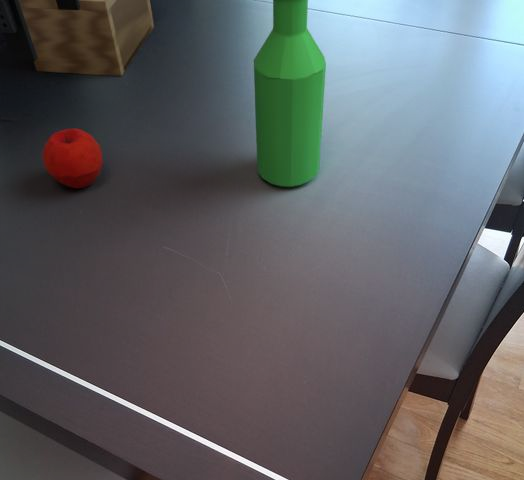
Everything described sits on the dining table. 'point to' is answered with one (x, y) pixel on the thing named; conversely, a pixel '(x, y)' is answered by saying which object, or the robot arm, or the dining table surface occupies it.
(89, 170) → the apple
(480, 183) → the dining table surface
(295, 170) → the bottle
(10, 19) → the robot arm
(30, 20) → the wood grain cube
